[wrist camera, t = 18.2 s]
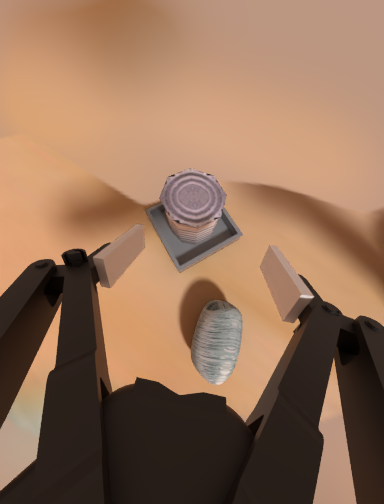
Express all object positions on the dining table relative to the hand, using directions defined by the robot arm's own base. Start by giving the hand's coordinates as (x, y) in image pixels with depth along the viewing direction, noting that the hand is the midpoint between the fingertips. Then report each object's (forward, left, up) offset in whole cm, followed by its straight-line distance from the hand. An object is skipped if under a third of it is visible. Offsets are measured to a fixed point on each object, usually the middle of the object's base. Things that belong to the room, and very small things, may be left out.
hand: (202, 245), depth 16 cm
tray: (+10, -4, -20) cm, 23 cm away
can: (+10, -5, -20) cm, 23 cm away
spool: (-13, +4, -20) cm, 25 cm away
